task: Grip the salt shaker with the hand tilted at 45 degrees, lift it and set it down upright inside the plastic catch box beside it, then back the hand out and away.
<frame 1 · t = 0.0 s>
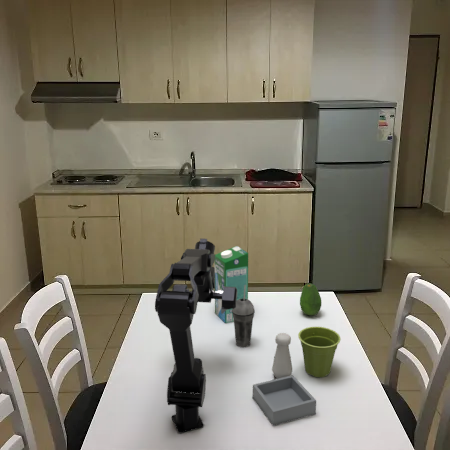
hand: (207, 311, 144), 15 cm above the table, tool tilted 35°, fingers open, 9 cm apart
catch box: (283, 405, 125), on the table
beverage cup: (243, 344, 155), on the table
salt shaker: (281, 376, 138), on the table
plant pot: (317, 371, 140), on the table
avocado: (310, 315, 175), on the table
milk carton: (231, 316, 175), on the table
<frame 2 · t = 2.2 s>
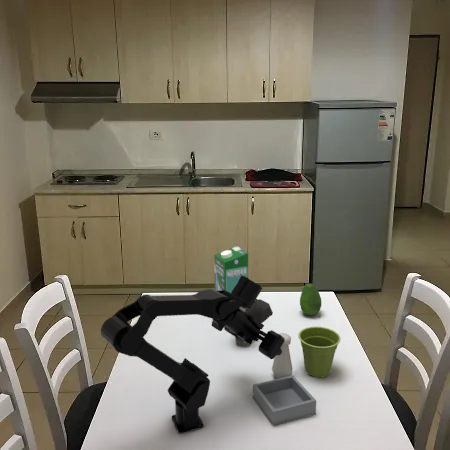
hand: (269, 346, 131), 11 cm above the table, tool tilted 45°, fingers open, 9 cm apart
nothing on the table moved.
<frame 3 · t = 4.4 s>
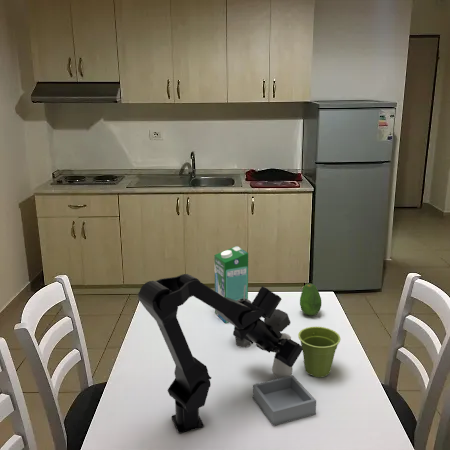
hand: (286, 354, 137), 7 cm above the table, tool tilted 45°, fingers closed on salt shaker, 3 cm apart
salt shaker: (281, 376, 138), on the table, touching gripper
everything else where it was.
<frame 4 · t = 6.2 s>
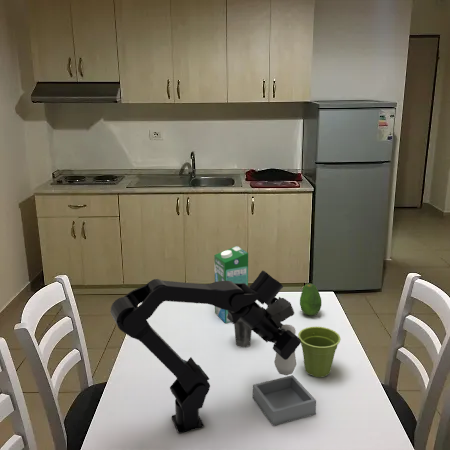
hand: (290, 347, 127), 13 cm above the table, tool tilted 45°, fingers closed on salt shaker, 3 cm apart
salt shaker: (284, 371, 128), point 6 cm above the table, touching gripper
everything else where it was.
when the fingers open (8 cm above the table, at t = 8.1 s): salt shaker stays where it is, resting on catch box.
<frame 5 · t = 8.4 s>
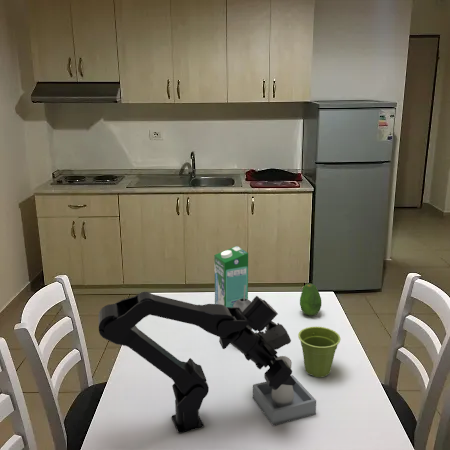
hand: (289, 376, 123), 9 cm above the table, tool tilted 45°, fingers open, 7 cm apart
salt shaker: (282, 403, 124), point 1 cm above the table, touching catch box
everything else where it was.
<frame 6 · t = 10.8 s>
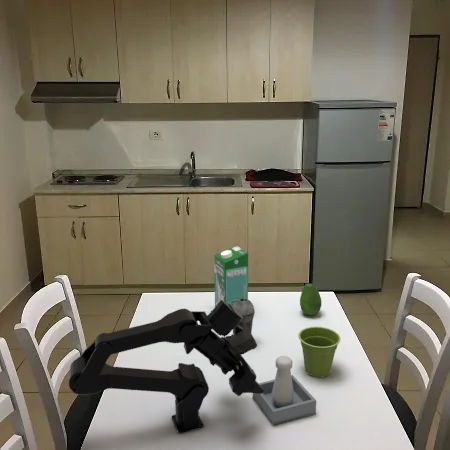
hand: (256, 381, 121), 9 cm above the table, tool tilted 45°, fingers open, 9 cm apart
nothing on the table moved.
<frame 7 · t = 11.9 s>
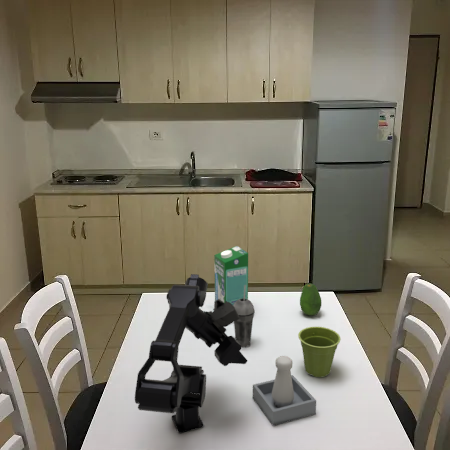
hand: (238, 353, 124), 14 cm above the table, tool tilted 45°, fingers open, 9 cm apart
nothing on the table moved.
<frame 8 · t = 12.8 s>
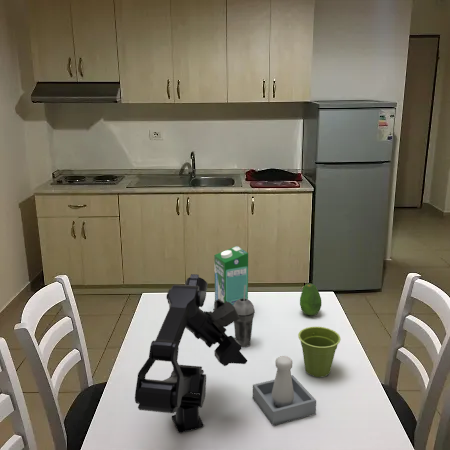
hand: (238, 353, 124), 14 cm above the table, tool tilted 45°, fingers open, 9 cm apart
nothing on the table moved.
at the end: salt shaker inside the target area on the catch box (0.2 cm from its centre), point 0.6 cm above the catch box's base; salt shaker tilted 0°; the gripper is holding nothing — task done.
